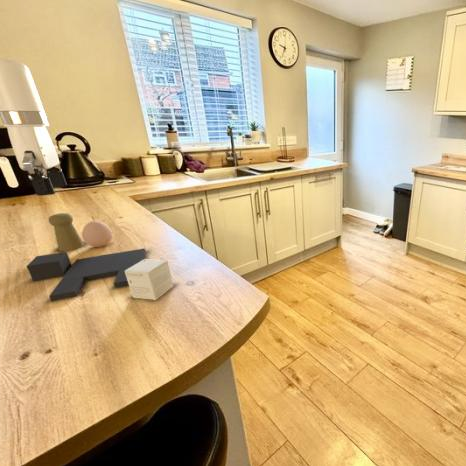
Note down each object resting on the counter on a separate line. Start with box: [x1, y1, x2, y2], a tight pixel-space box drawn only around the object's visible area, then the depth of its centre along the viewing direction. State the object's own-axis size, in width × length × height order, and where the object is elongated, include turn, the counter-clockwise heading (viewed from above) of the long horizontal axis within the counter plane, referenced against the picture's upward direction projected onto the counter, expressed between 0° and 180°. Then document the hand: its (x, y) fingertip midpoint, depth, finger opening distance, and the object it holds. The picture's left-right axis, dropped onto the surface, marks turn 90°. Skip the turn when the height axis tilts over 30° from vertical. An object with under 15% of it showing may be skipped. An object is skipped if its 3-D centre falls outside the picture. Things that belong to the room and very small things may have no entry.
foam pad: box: [26, 251, 73, 282], centre depth 75 cm, size 6×6×4 cm
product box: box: [125, 258, 174, 301], centre depth 67 cm, size 6×6×7 cm
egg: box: [81, 220, 114, 248], centre depth 90 cm, size 7×7×8 cm
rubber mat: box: [49, 248, 147, 302], centre depth 76 cm, size 16×20×2 cm
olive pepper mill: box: [48, 212, 85, 252], centre depth 89 cm, size 6×6×11 cm
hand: (53, 190), depth 75 cm, fingers open, 9 cm apart
